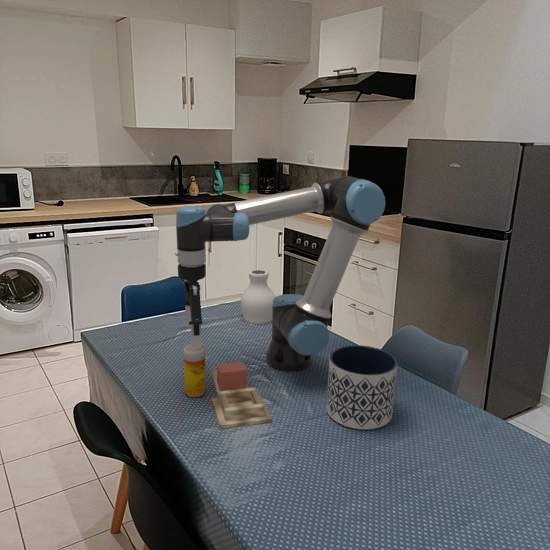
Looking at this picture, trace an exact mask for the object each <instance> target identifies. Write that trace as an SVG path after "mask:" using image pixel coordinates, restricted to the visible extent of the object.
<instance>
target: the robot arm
mask: <svg viewBox="0 0 550 550" xmlns="http://www.w3.org/2000/svg"><path fill="white" fill-rule="evenodd" d="M385 207H386V197H385V195H384V192H383V190H382V189H381V187H380V186H378V184H376V183H374V182H372V181H370V180H367V179H364V178H358V177H354V176H351V175H346V176H345V175H343V176H339V177H333V178H330V179H325V180H321V181H318V182H313V183H312V185H311V186H310V187H304V188H299V189H295V190H290V191H284V192H279V193H274V194H269V195H264V196H259V197H255V198H250V199H245V200H240V201H236V202H235V201H234V202H230V203H226V204H221V203H213V204H211V205H209V206H208V207H207V208H206V210H205V208H204V207H203V206H197V205H195V206H194V205H188V206H187V205H186V206H180V207H178V208H177V210H176V220H175V221H176V222H175V229H176V231H175V232H176V249H177V252H174V256H177V263H178V265H177V277H178V279H180V280H182V281H184V283H183V285H184V298H183V299H184V301H185V302H184V304H185V306H184V307H185V327H186V328H190V340H191V341H190V343H191V346H198V345H203V344H202V342H203V341H202V324H203V318H202V305H201V303H202V302H201V284H200V282H199V281H200V280H203V279H205V278H206V276H207V275H206V273H207V271H206V264H205V263H206V260H207V259H206V243H210V242H211V243H212V242H213V243H214V242H215V243H216V242H238V241H239V242H240V241H245V240H247V239H248V238H249V235H250V226H252V225H257V224H261V223H266V222H270V221H275V220H281V219H285V218H290V217H295V216H299V215H303V214H309V213H313V212H316V213H318V214H325V213H331V214H330V220H331V223H332V226H331V228H330V231H329V233H328V236H327V237H326V240H325V243H324V245H323V248H322V250H321V253H320V255H319V257H318V260H317V262H316V264H315V268H314V270H313V272H312V275H311V278H310V280H309V281H308V284H307V287H306V290H305V292H304V295H303V294H297V293H289V294H286V293H285V294H280V295H277V296H275V298H274V299H273V306H272V308H273V310H272V321H271V323H272V324H271V341H270V343H269V346H268V348H267V352H266V356H265V357H266V358H265V362H266V363H267V365H268V366H269V367H271V368H273V369H275V370H278V371H284V372H295V371H296V372H298V371H302V370H304V369H307V368H309V367H310V365H311V364H312V355H315V354H317V353H320V352H321V351H323V350H324V349H325V348H326V347H327V345H328V343H329V341H330V331H329V328H328V325H329V324H330V321H331V319H332V314H331V311H330V308H331V306H332V304H333V301H334V298H335V296H336V294H337V291H338V289H339V287H340V284H341V282H342V280H343V278H344V275H345V272H346V270H347V267H348V265H349V262H350V260H351V259H352V255H353V253H354V251H355V248H356V246H357V243H358V241H359V239H360V237H361V236H362V235H363V234H366V233H368V231H369V229H370V228H371V227H370V226H371V224H374V223H375V222H377V221H379V220H380V218H381V217H382V216H383V214H384V212H385Z"/></svg>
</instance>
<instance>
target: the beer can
mask: <svg viewBox="0 0 550 550" xmlns="http://www.w3.org/2000/svg"><path fill="white" fill-rule="evenodd" d="M183 369H184V370H183V373H184V374H183V375H184V382H183V383H184V393H185V394H186V396H188V397H190V398H200V397H201V396H203V395H204V393H206V389H207V388H206V384H207V383H206V349H205V346H204V344H202V345H198V346H191V342H189V343H187V344H186V345H184V347H183Z"/></svg>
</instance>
